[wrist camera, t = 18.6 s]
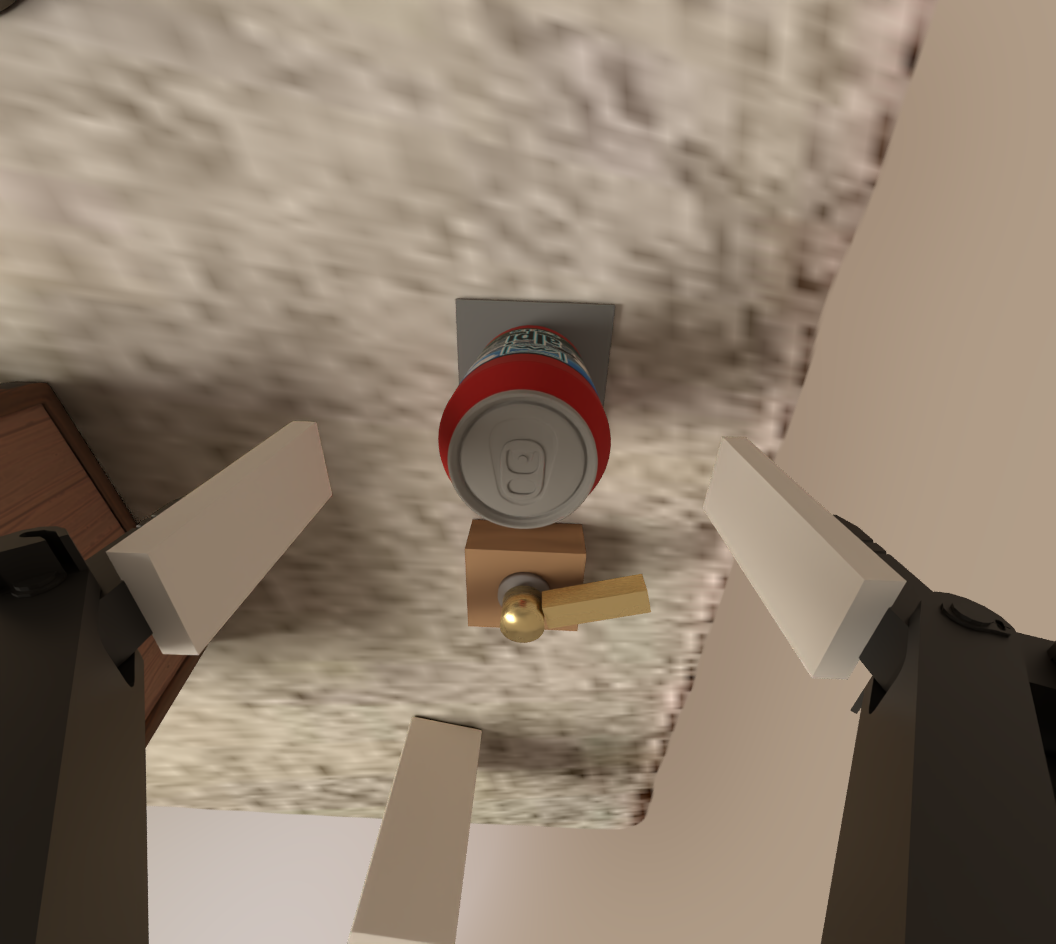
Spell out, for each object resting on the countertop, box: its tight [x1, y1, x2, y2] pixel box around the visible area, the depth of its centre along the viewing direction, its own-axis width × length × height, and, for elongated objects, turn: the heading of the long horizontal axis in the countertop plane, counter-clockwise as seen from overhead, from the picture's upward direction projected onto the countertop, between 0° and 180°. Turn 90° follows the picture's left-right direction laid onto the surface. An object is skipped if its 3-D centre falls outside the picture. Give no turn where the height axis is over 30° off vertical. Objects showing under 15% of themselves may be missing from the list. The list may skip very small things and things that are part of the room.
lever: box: [500, 574, 651, 643], centre depth 27 cm, size 9×3×2 cm, turn 104°
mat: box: [455, 299, 615, 407], centre depth 26 cm, size 9×9×1 cm
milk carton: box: [347, 717, 482, 944], centre depth 35 cm, size 7×7×19 cm
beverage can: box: [438, 325, 611, 529], centre depth 20 cm, size 7×7×12 cm
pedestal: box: [465, 520, 586, 631], centre depth 30 cm, size 7×8×4 cm
